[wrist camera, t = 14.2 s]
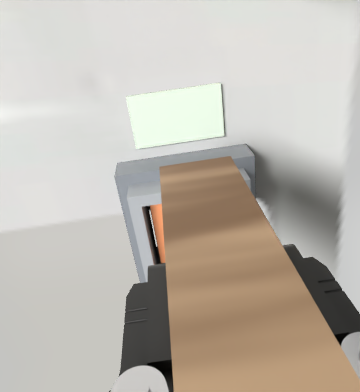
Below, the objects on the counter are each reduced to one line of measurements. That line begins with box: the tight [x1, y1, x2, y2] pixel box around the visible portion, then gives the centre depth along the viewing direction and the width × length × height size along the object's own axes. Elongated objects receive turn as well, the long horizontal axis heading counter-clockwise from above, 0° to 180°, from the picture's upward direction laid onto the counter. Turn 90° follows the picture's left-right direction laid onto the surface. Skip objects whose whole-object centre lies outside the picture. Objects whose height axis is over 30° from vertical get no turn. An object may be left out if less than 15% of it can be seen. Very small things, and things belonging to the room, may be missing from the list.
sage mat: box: [126, 83, 224, 149], centre depth 30 cm, size 5×8×1 cm, turn 97°
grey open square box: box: [114, 144, 256, 283], centre depth 32 cm, size 12×12×5 cm
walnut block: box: [159, 156, 360, 392], centre depth 12 cm, size 3×3×12 cm
